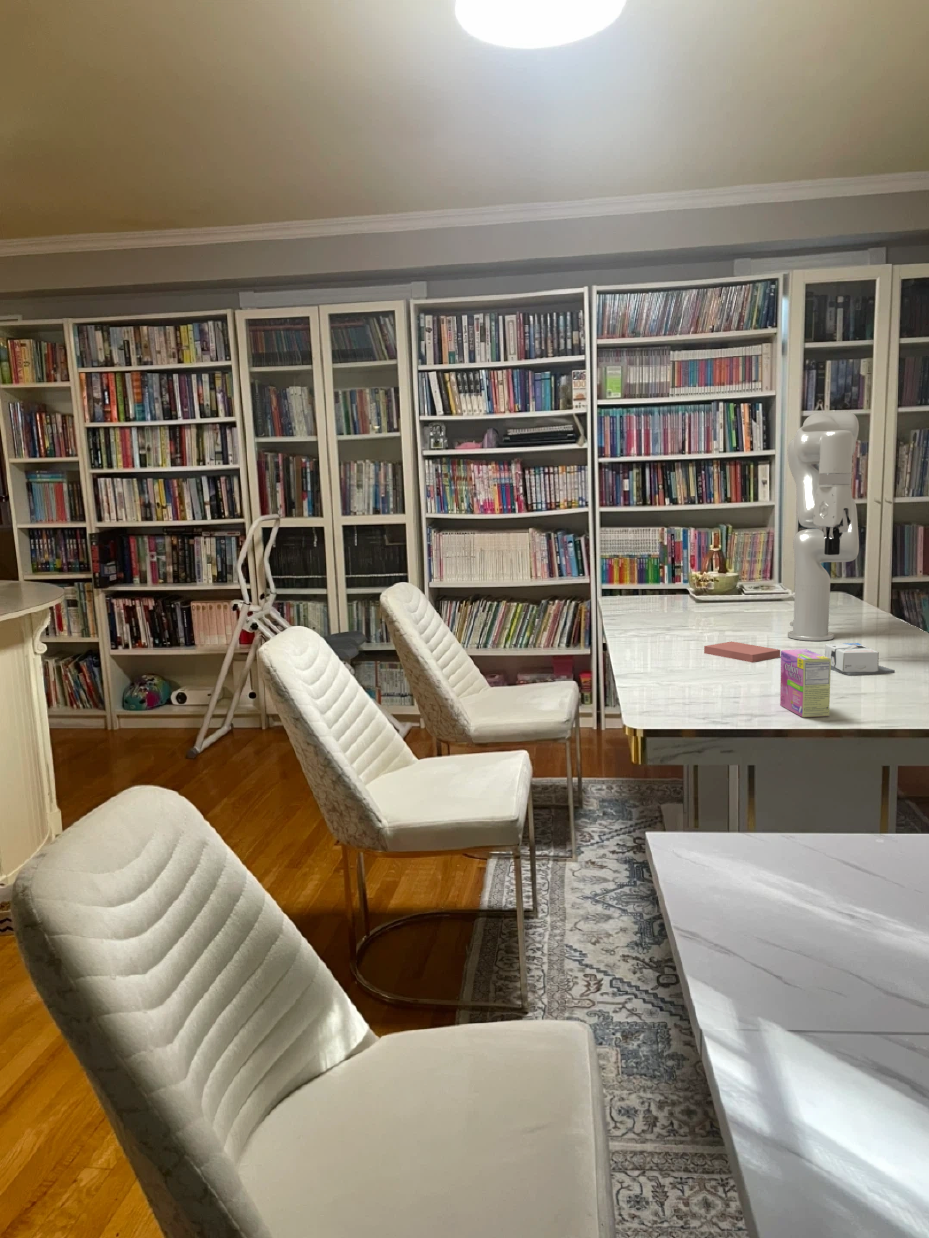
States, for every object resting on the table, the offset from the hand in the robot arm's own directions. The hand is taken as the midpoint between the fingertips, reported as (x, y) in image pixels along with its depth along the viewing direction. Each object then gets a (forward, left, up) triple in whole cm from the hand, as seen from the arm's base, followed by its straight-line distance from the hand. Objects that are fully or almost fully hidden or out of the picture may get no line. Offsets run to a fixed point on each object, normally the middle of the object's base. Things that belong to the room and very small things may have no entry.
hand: (831, 554), depth 227 cm
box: (+44, -34, -27) cm, 62 cm away
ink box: (+6, 0, -24) cm, 25 cm away
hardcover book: (-12, -17, -28) cm, 35 cm away
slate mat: (+9, 0, -27) cm, 29 cm away
